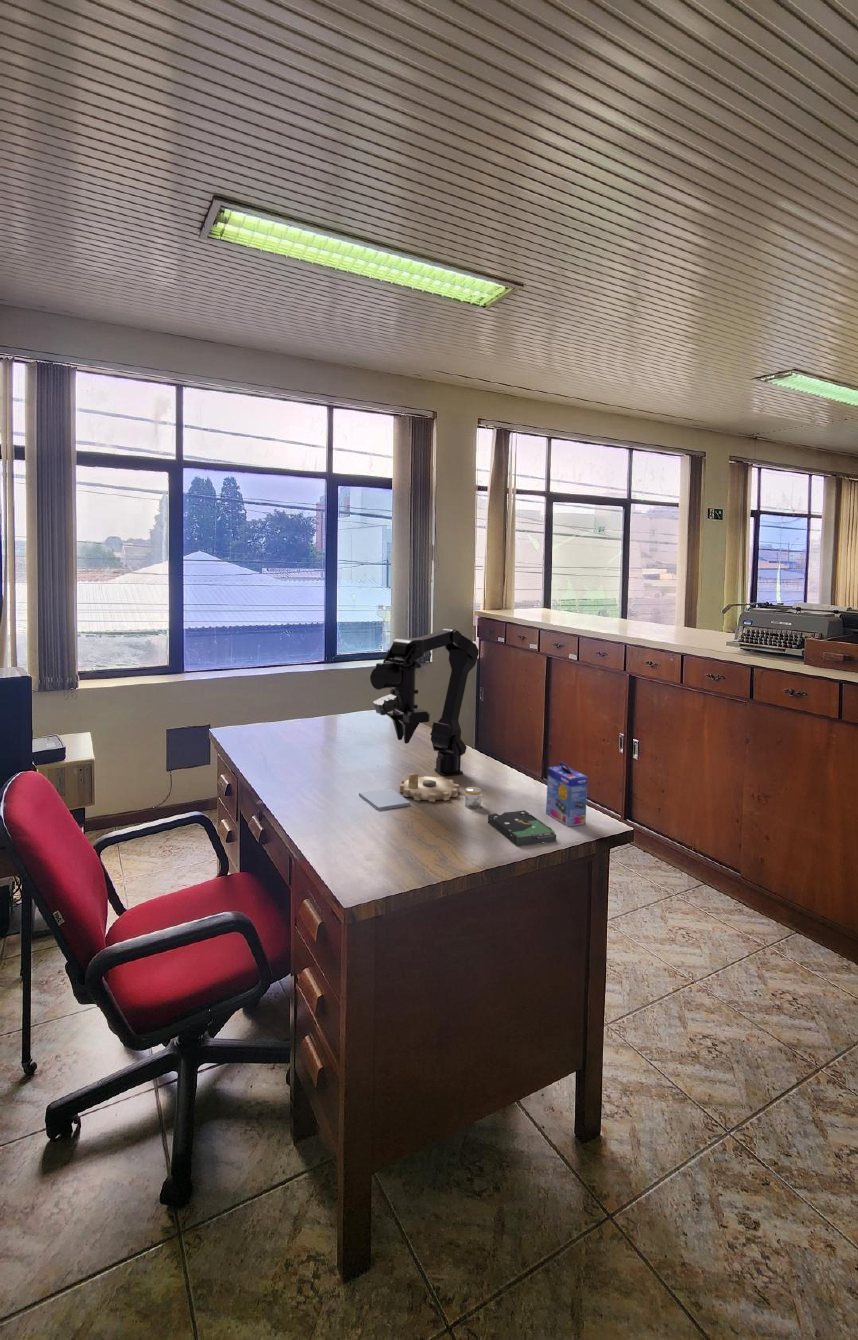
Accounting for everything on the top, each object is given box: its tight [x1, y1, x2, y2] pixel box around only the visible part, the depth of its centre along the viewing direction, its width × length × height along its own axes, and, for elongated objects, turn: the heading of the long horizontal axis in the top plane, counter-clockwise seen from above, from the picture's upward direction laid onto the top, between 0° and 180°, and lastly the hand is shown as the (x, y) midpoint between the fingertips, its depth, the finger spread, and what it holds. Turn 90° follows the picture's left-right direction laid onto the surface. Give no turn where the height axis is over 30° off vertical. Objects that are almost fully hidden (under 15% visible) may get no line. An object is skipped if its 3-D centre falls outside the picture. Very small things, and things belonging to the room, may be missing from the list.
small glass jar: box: [464, 786, 483, 810], centre depth 172 cm, size 4×4×4 cm
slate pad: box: [358, 788, 411, 811], centre depth 175 cm, size 9×12×1 cm
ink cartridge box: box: [545, 761, 588, 827], centre depth 165 cm, size 10×6×14 cm, turn 24°
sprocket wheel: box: [399, 772, 460, 802], centre depth 182 cm, size 16×16×5 cm
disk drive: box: [487, 809, 557, 847], centre depth 157 cm, size 10×3×15 cm
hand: (403, 741), depth 184 cm, fingers open, 4 cm apart
